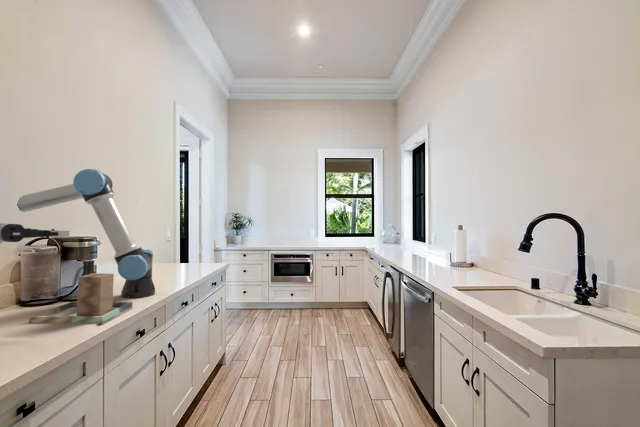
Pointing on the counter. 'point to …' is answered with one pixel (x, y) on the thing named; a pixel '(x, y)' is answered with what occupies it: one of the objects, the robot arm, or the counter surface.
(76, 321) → the grey flat tray
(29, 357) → the counter surface
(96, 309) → the walnut block
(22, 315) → the counter surface
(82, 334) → the counter surface
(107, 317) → the bay end wall
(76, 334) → the counter surface
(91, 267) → the sauce bottle
